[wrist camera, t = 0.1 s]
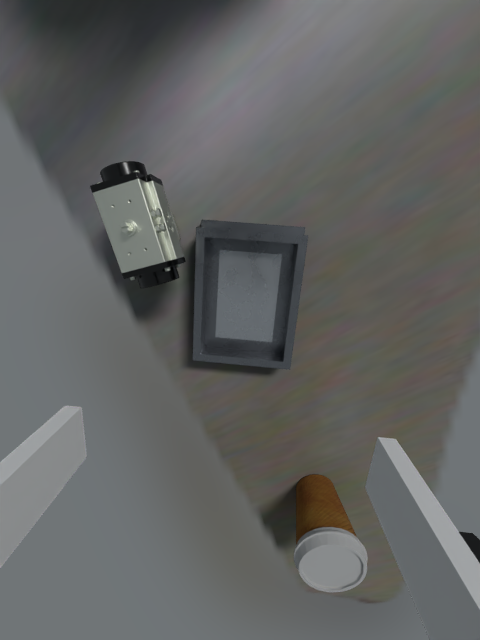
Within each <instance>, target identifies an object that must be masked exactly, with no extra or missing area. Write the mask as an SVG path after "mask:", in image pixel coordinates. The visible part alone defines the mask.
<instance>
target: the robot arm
mask: <svg viewBox="0 0 480 640" xmlns="http://www.w3.org/2000/svg"><path fill="white" fill-rule="evenodd" d="M86 458H87V453H86V444H85V434H84V425H83V415H82V408H81V407H74V406H64V407H63V408H62V409H61V410H60V411H58V412H57V413H56V414H55V415H54V416H53V417H52V418H50V419H49V420H48V421H47V422H46V423H45V424H44V425H42V426H41V427H40V428H39V429H38V430H37V431H35V432H34V433H33V434H32V435H31V436H30V437H29V438H27V439H26V440H25V441H24V442H23V443H22V444H21V445H19V446H18V447H17V448H16V449H15V450H14V451H12V452H11V453H10V454H9V455H8V456H7V457H6V458H5V459H3V460H2V461H1V462H0V568H1V567H2V565H3V564H4V563H5V562H6V560H7V559H8V558H9V556H10V555H11V554H12V553H13V551H14V550H15V549H16V547H17V546H18V545H19V544H20V542H21V541H22V539H23V538H24V537H25V536H26V535H27V533H28V532H29V531H30V529H31V528H32V527H33V526H34V524H35V523H36V522H37V520H38V519H39V518H40V517H41V515H42V514H43V513H44V511H45V510H46V509H47V508H48V506H49V505H50V504H51V503H52V501H53V500H54V499H55V497H56V496H57V495H58V494H59V492H60V491H61V490H62V488H63V487H64V486H65V484H66V483H67V482H68V481H69V480H70V478H71V477H72V476H73V474H74V473H75V472H76V471H77V469H78V468H79V467H80V465H81V464H82V463H83V462H84V460H85V459H86ZM365 488H366V491H367V493H368V495H369V498H370V500H371V503H372V505H373V507H374V510H375V512H376V514H377V517H378V519H379V521H380V524H381V526H382V529H383V531H384V533H385V536H386V538H387V540H388V543H389V545H390V547H391V550H392V552H393V555H394V557H395V559H396V562H397V564H398V566H399V569H400V571H401V573H402V576H403V578H404V581H405V583H406V585H407V588H408V590H409V592H410V595H411V597H412V599H413V602H414V604H415V606H416V609H417V611H418V614H419V616H420V618H421V621H422V623H423V626H424V628H425V630H426V633H427V635H428V637H429V640H480V540H479V539H478V538H477V537H476V536H475V535H474V534H473V533H465V532H458V530H457V529H456V528H455V526H454V524H453V523H452V522H451V520H450V519H449V517H448V516H447V514H446V513H445V511H444V510H443V508H442V507H441V505H440V504H439V502H438V501H437V499H436V498H435V496H434V495H433V493H432V492H431V490H430V489H429V487H428V486H427V484H426V483H425V481H424V480H423V479H422V477H421V476H420V474H419V473H418V471H417V470H416V468H415V467H414V465H413V464H412V462H411V461H410V459H409V458H408V456H407V455H406V453H405V452H404V450H403V449H402V447H401V446H400V444H399V443H398V441H397V440H396V439H391V438H381V437H378V438H377V442H376V446H375V450H374V454H373V458H372V462H371V466H370V470H369V474H368V478H367V482H366V486H365Z"/></svg>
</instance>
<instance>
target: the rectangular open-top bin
mask: <svg viewBox="0 0 480 640" xmlns="http://www.w3.org/2000/svg"><path fill="white" fill-rule="evenodd" d="M304 233H305V227H294V226H280V225H267V224H253V223H240V222H226V221H213V220H202V221H201V228H199V227H196V256H195V294H194V332H193V360H194V361H205V362H215V363H226V364H237V365H247V366H258V367H268V368H279V369H289V370H290V366H291V358H292V351H293V344H294V336H295V329H296V322H297V314H298V307H299V300H300V292H301V285H302V277H303V270H304V263H305V255H306V248H307V241H308V236H306V235H304Z"/></svg>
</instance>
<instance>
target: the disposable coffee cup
mask: <svg viewBox="0 0 480 640" xmlns="http://www.w3.org/2000/svg"><path fill="white" fill-rule="evenodd" d="M367 559H368V558H367V552H366V550H365V548H364V546H363V544H362V543H361V542H360V541H359V539H358V538H357V537H356V534H355V532H354V530H353V528H352V525H351V524H350V521H349V520H348V516H347V514H346V512H345V510H344V508H343V505H342V503H341V501H340V499H339V497H338V495H337V492H336V490H335V488H334V486H333V483H332V482H331V481H330V480H329V479H328V478H327V477H325V476H322V475H309V476H306V477H304V478H302V479H301V480H300V481H299V482H298V484H297V486H296V548H295V551H294V562H295V565H296V567H297V569H298V570H299V573H300V576H301V577H302V579H303V580H304V581H305V582H306V583H307V584H308V585H309V586H311V587H313V588H315V589H317V590H320V591H325V592H342V591H346V590H349V589H352V588H354V587H356V586H357V585H359V584H360V583H361V582H362V580H363V579H364V578H365V576H366V573H367Z"/></svg>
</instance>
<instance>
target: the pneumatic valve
mask: <svg viewBox="0 0 480 640" xmlns="http://www.w3.org/2000/svg"><path fill="white" fill-rule="evenodd" d="M100 175H101V177H102V180H103V182H99V183H96V184H95V185H92V186H90V188H91V190H92V193H93V196H94V198H95V201H96V204H97V207H98V209H99V212H100V215H101V218H102V220H103V223H104V226H105V229H106V231H107V234H108V237H109V240H110V242H111V245H112V248H113V251H114V253H115V256H116V259H117V262H118V264H119V267H120V270H121V273H122V275H123V278H124V279H126V278H130V280H135V279H136V277H137V280H138V282H139V285H140V288H147V287H151V286H155V285H159V284H163V283H166V282H169V281H172V280H175V279H177V278H179V274H178V271H177V268H176V267H180V264H181V263H184V262H186V261H185V258H184V254H183V251H182V248H181V244H180V239H181V238H180V235H179V231H178V228H177V225H176V221H175V218H174V215H173V214H172V213H171V211H170V208H169V204H168V201H167V198H166V194H165V191H164V188H163V184H162V181H161V180H160V179H158V178H157V177H155V176H153V175H151V174H150V175H147V172H146V169H145V166H144V164H142V163H140V162H134V161H128V162H120V163H116V164H112V165H109V166H107V167H105V168H104V169H102V170H101V172H100ZM177 258H178V259H177ZM173 259H174V260H173ZM158 263H159V264H158ZM143 267H144V268H143ZM128 271H129V272H128ZM135 276H136V277H135Z"/></svg>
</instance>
